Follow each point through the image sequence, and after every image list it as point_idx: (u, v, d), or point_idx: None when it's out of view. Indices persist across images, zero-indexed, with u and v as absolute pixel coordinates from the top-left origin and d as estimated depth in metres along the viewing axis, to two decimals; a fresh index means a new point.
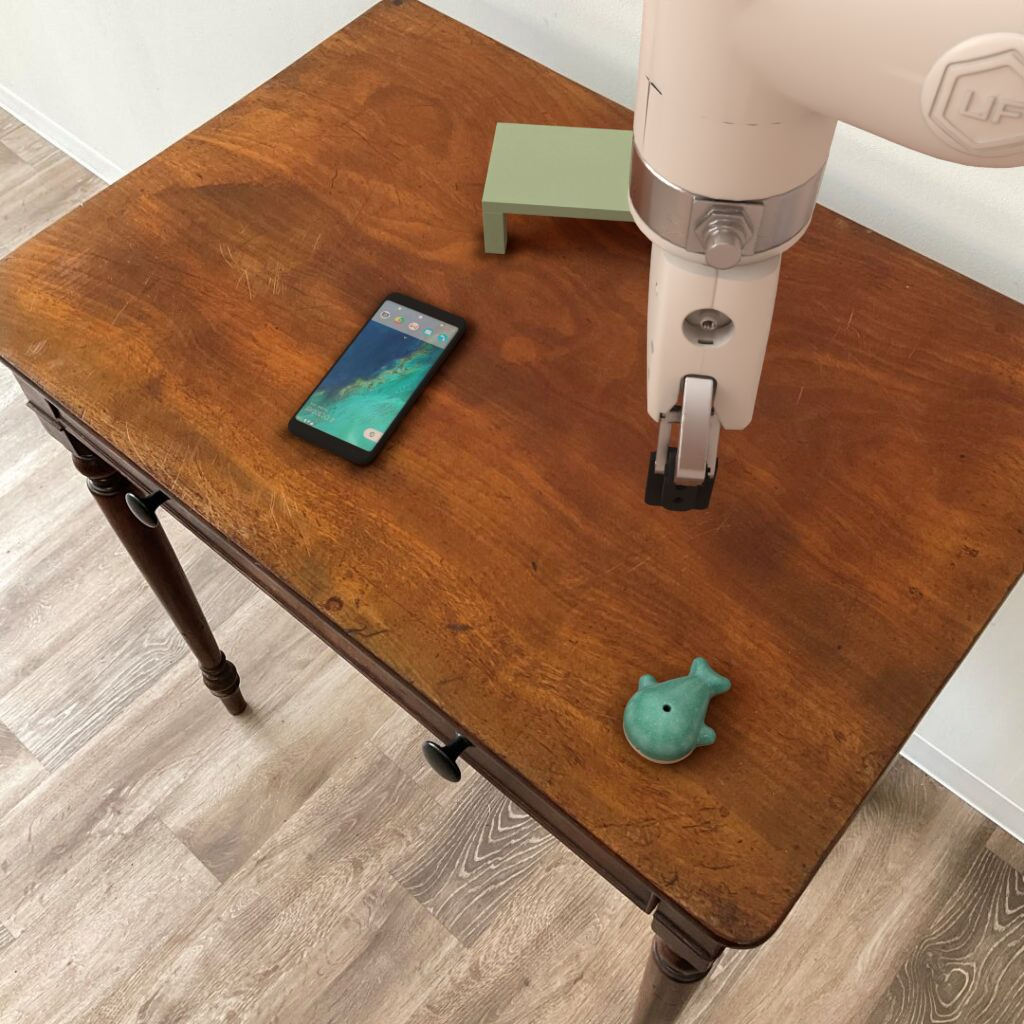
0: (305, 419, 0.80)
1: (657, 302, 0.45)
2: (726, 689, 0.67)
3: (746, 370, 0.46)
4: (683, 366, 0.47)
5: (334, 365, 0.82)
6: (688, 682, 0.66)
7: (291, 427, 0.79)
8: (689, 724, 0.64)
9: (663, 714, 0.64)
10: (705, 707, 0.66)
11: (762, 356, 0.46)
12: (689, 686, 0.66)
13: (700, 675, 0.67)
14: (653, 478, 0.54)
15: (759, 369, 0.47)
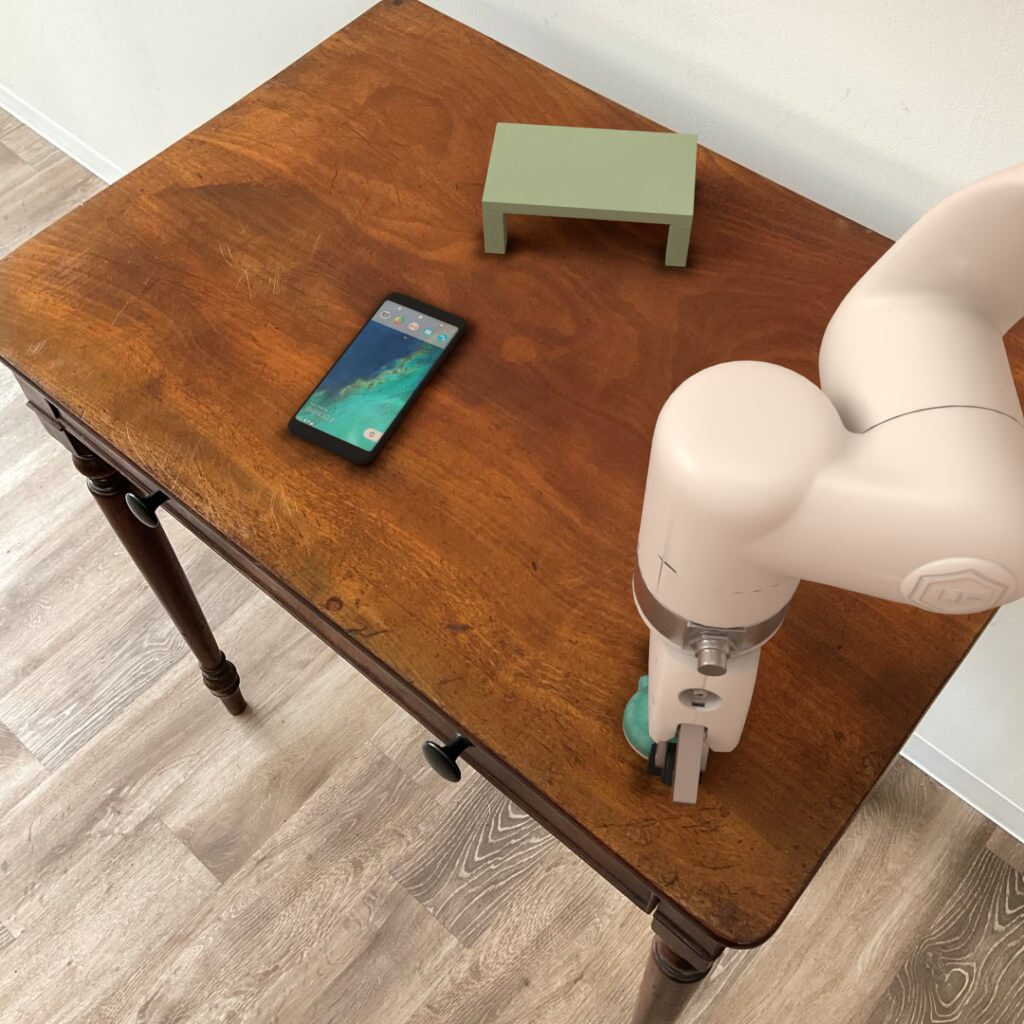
0: (305, 419, 0.80)
1: (657, 674, 0.54)
2: None
3: (732, 723, 0.55)
4: (679, 718, 0.55)
5: (334, 365, 0.82)
6: None
7: (291, 427, 0.79)
8: None
9: None
10: None
11: (746, 714, 0.55)
12: None
13: None
14: (654, 761, 0.63)
15: (743, 721, 0.55)
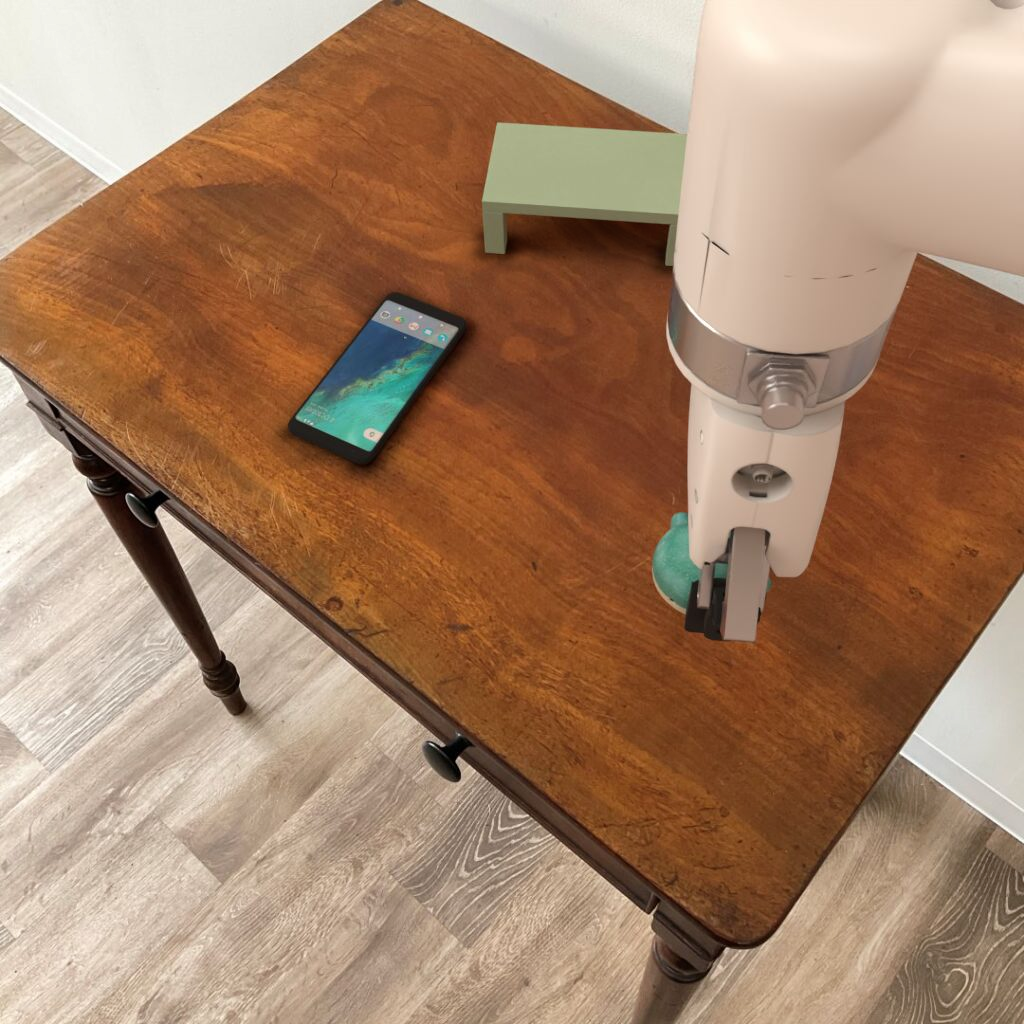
0: (305, 419, 0.80)
1: (702, 452, 0.40)
2: None
3: (804, 523, 0.41)
4: (732, 519, 0.41)
5: (334, 365, 0.82)
6: None
7: (291, 427, 0.79)
8: None
9: None
10: None
11: (823, 508, 0.40)
12: None
13: None
14: (694, 608, 0.49)
15: (819, 521, 0.41)
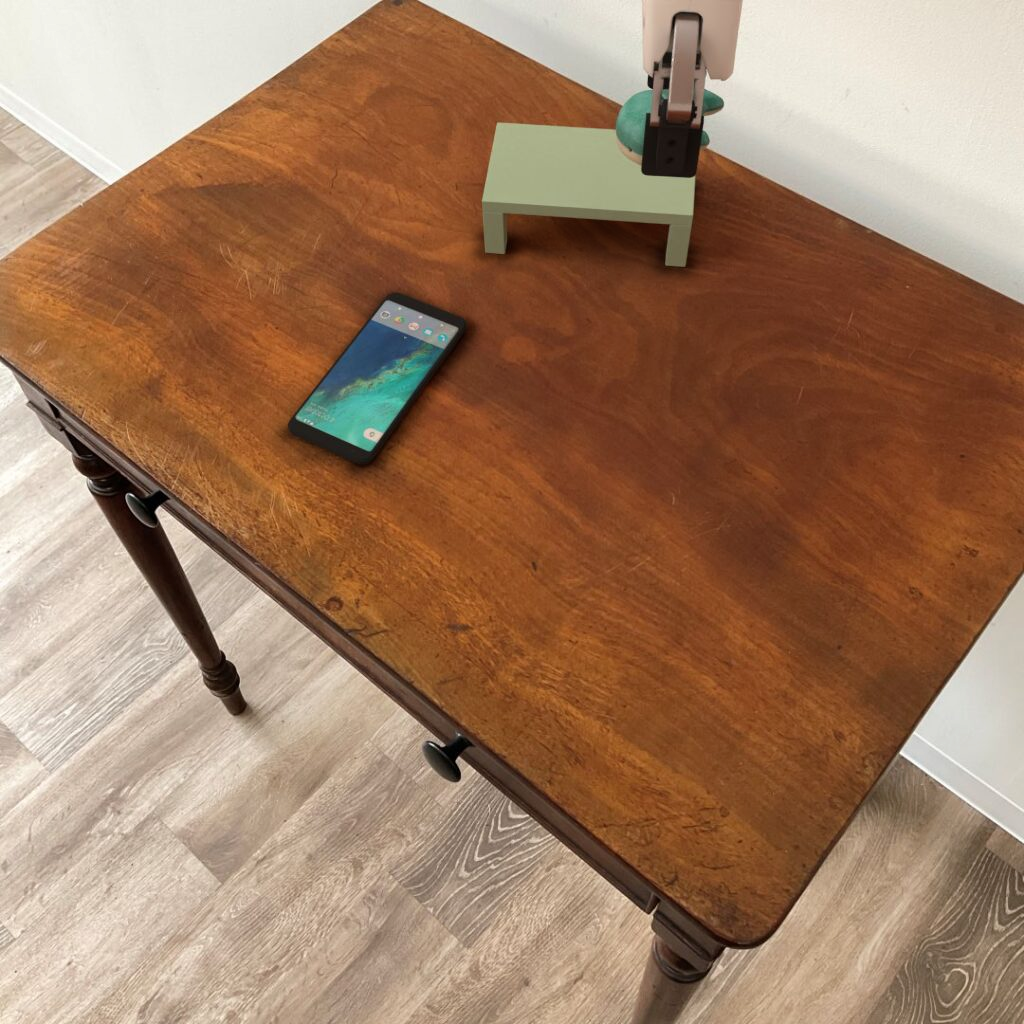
0: (305, 419, 0.80)
1: None
2: (719, 105, 0.67)
3: (727, 4, 0.54)
4: (673, 3, 0.54)
5: (334, 365, 0.82)
6: None
7: (291, 427, 0.79)
8: None
9: None
10: None
11: None
12: None
13: (693, 89, 0.66)
14: (648, 141, 0.63)
15: (739, 5, 0.54)
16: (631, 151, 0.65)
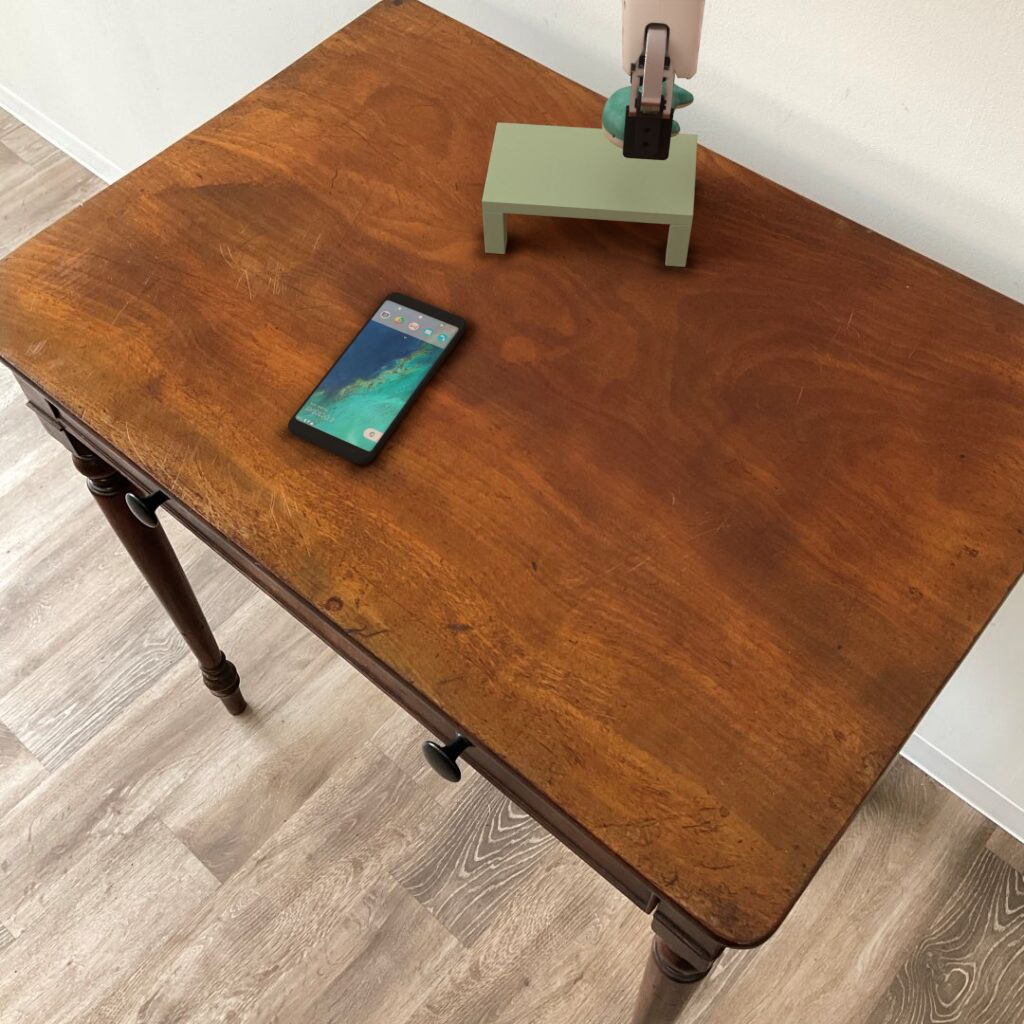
0: (305, 419, 0.80)
1: None
2: (689, 99, 0.79)
3: (689, 17, 0.67)
4: (646, 16, 0.67)
5: (334, 365, 0.82)
6: None
7: (291, 427, 0.79)
8: None
9: None
10: (671, 105, 0.78)
11: (700, 6, 0.67)
12: None
13: None
14: (628, 129, 0.75)
15: (699, 18, 0.67)
16: (614, 137, 0.78)
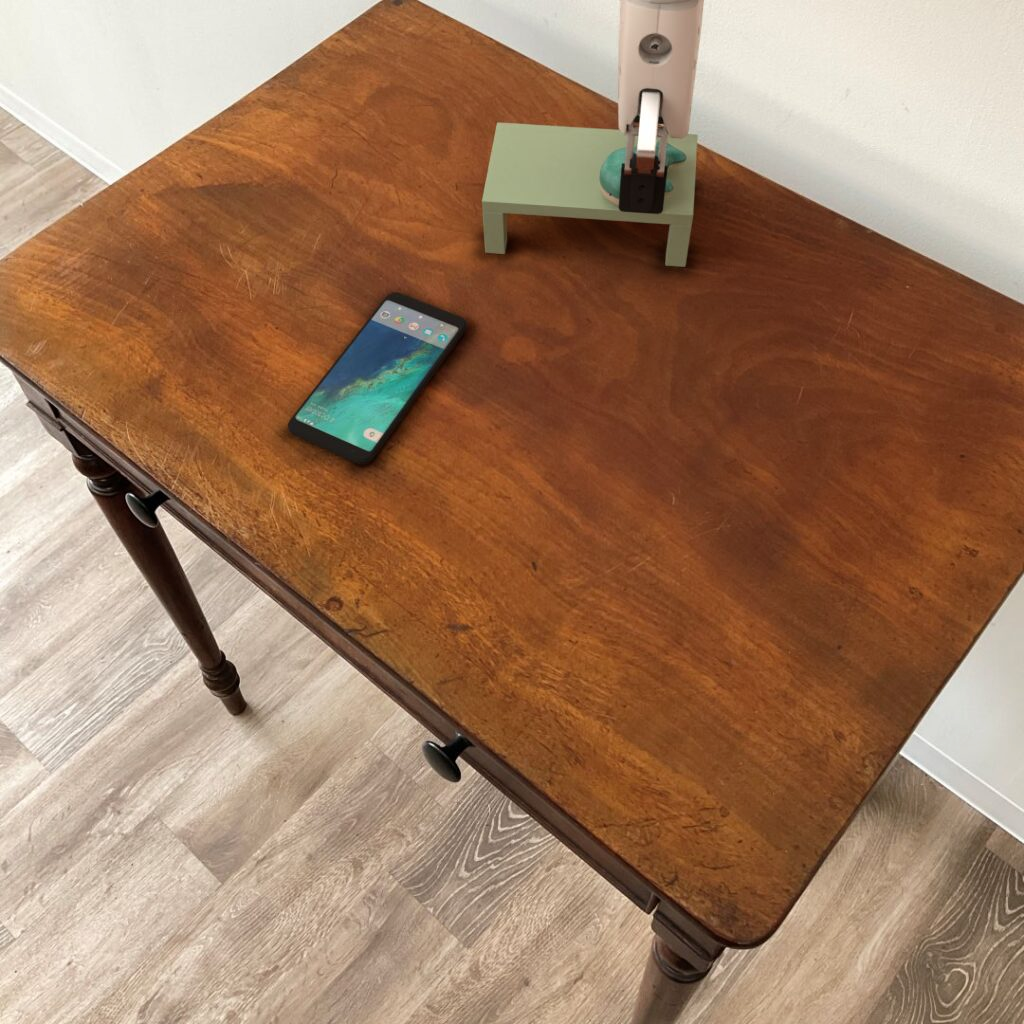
0: (305, 419, 0.80)
1: (622, 35, 0.70)
2: (682, 159, 0.84)
3: (681, 83, 0.71)
4: (640, 82, 0.71)
5: (334, 365, 0.82)
6: None
7: (291, 427, 0.79)
8: None
9: None
10: (665, 165, 0.83)
11: (691, 73, 0.71)
12: None
13: None
14: (624, 185, 0.78)
15: (690, 84, 0.71)
16: (611, 195, 0.82)
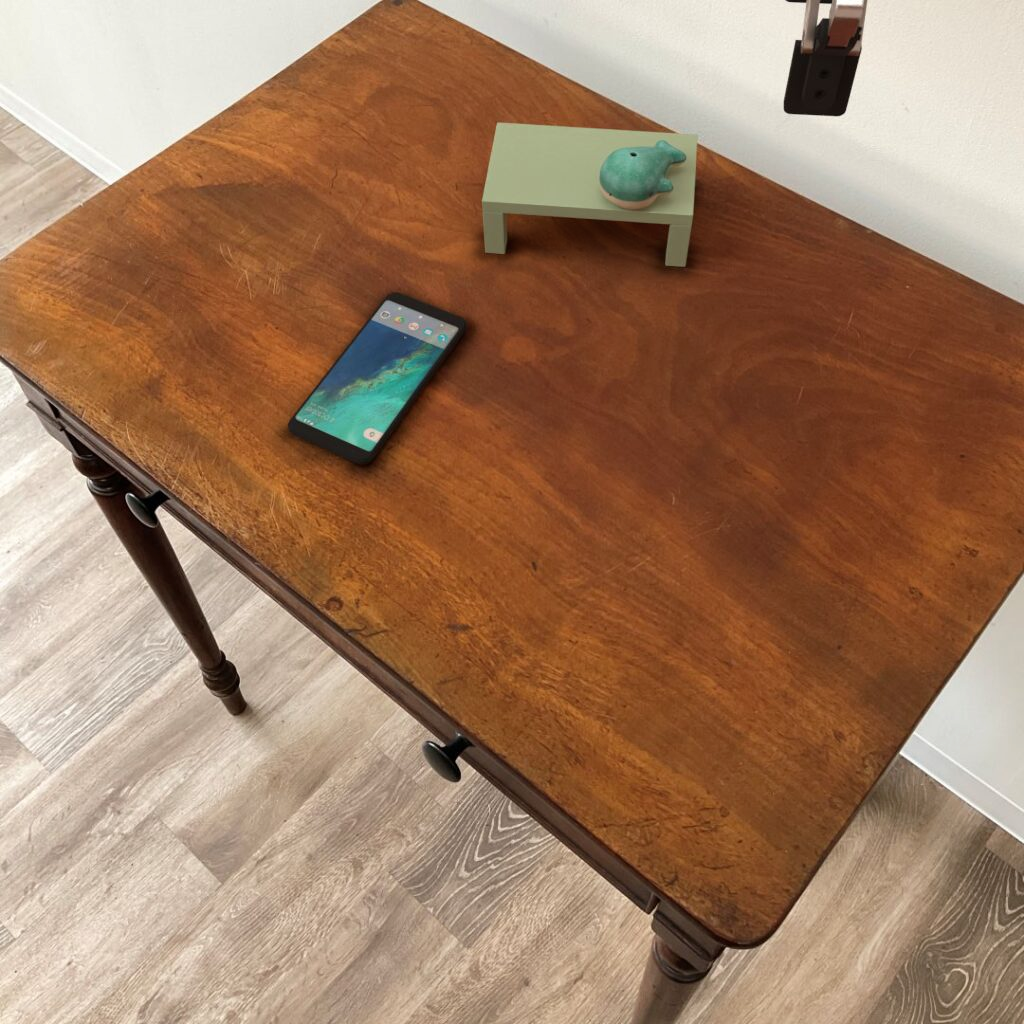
0: (305, 419, 0.80)
1: None
2: (682, 159, 0.84)
3: None
4: None
5: (334, 365, 0.82)
6: (652, 147, 0.83)
7: (291, 427, 0.79)
8: (651, 167, 0.81)
9: (630, 157, 0.81)
10: (665, 165, 0.83)
11: None
12: (652, 148, 0.83)
13: (661, 146, 0.84)
14: (796, 73, 0.56)
15: None
16: (611, 195, 0.82)
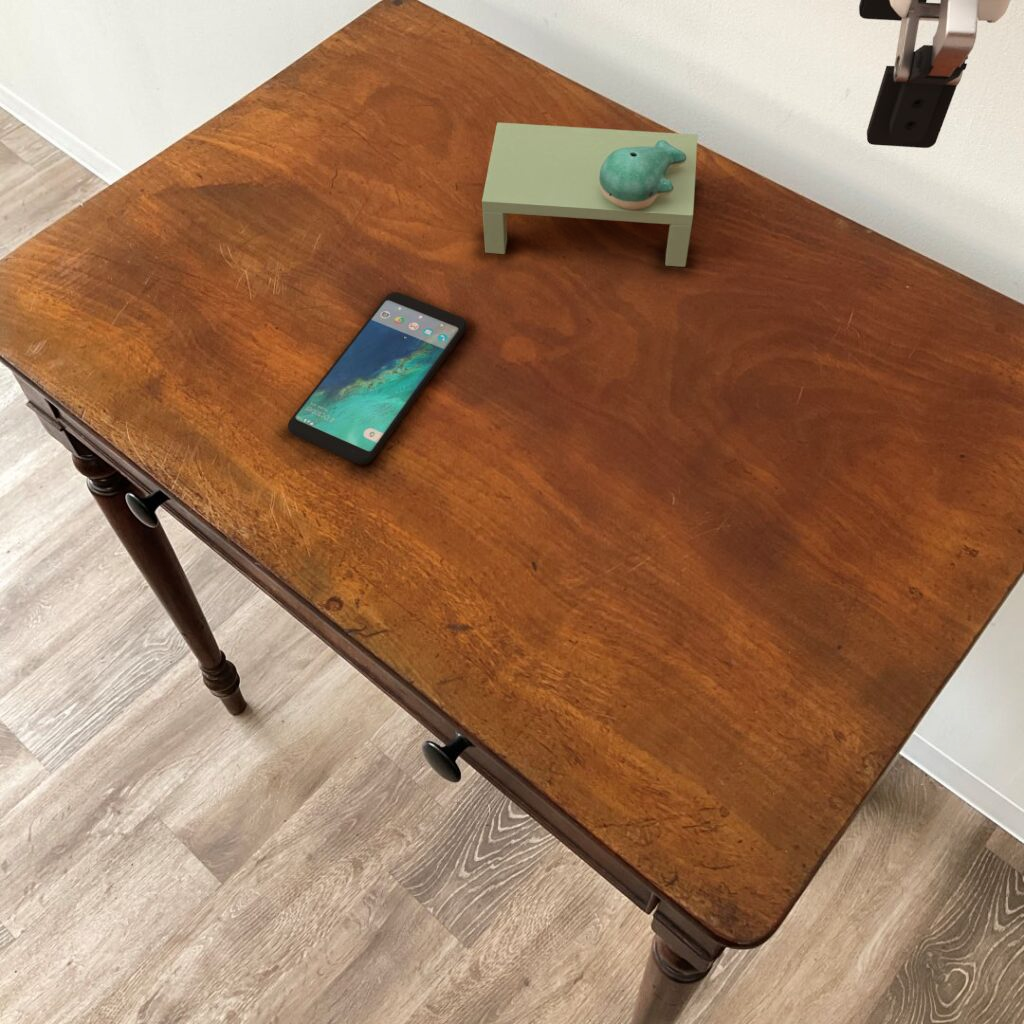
0: (305, 419, 0.80)
1: None
2: (682, 159, 0.84)
3: None
4: None
5: (334, 365, 0.82)
6: (652, 147, 0.83)
7: (291, 427, 0.79)
8: (651, 167, 0.81)
9: (630, 157, 0.81)
10: (665, 165, 0.83)
11: None
12: (652, 148, 0.83)
13: (661, 146, 0.84)
14: (884, 101, 0.51)
15: None
16: (611, 195, 0.82)
